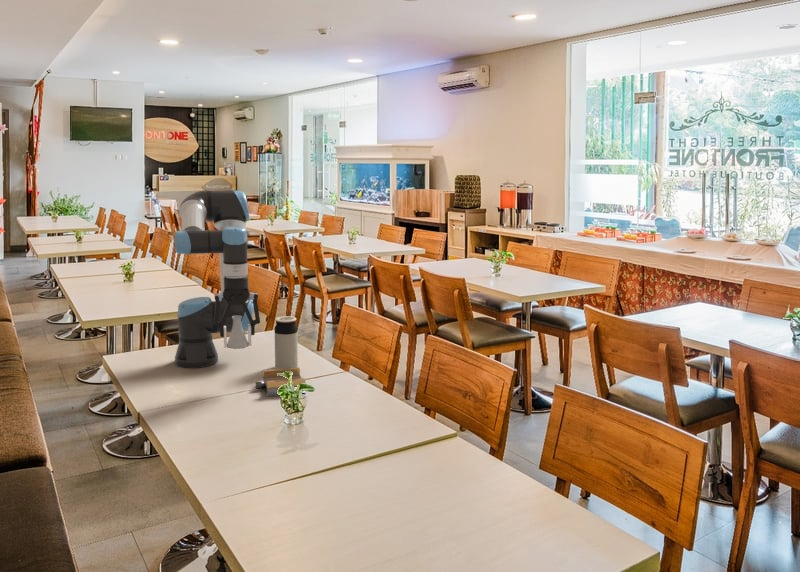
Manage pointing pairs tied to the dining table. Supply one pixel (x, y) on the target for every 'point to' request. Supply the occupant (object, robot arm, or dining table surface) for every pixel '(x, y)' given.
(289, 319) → the travel mug
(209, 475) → the dining table surface
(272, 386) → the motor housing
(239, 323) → the flask
